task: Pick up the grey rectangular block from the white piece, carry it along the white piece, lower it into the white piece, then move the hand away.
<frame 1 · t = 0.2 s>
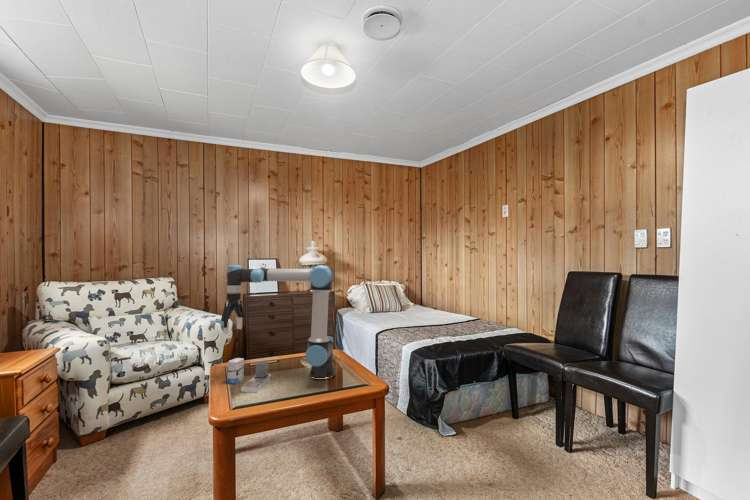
hand: (232, 331, 201), 27 cm above the table, fingers open, 13 cm apart
ink box: (235, 381, 199), on the table
grey rectangular block: (261, 380, 201), resting in white piece
white piece: (256, 384, 194), on the table
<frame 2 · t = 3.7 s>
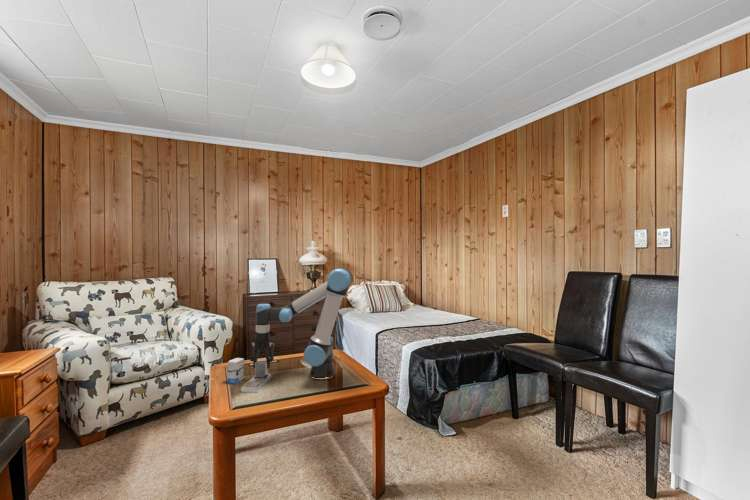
hand: (261, 374, 201), 4 cm above the table, fingers closed on grey rectangular block, 5 cm apart
grey rectangular block: (261, 380, 201), resting in white piece, touching gripper
everything else where it was.
when the fingers open (5 cm above the table, at t = 8.2 s): grey rectangular block drops 1 cm, resting in white piece.
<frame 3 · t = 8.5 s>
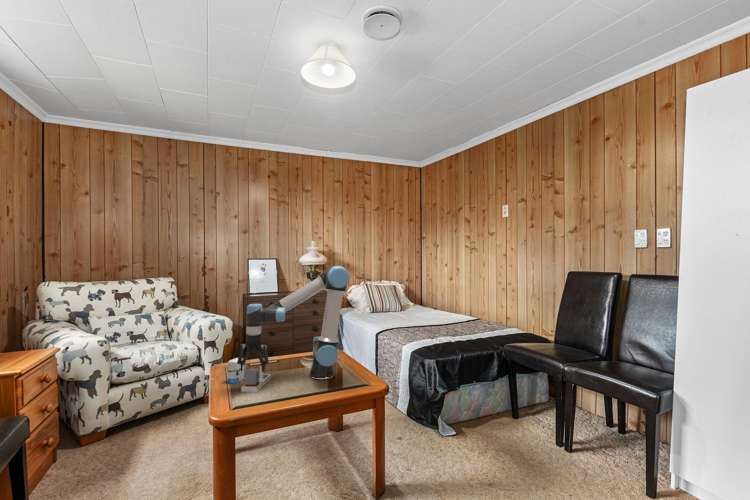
hand: (252, 377, 188), 6 cm above the table, fingers open, 8 cm apart
grey rectangular block: (252, 389, 188), resting in white piece
everything else where it was.
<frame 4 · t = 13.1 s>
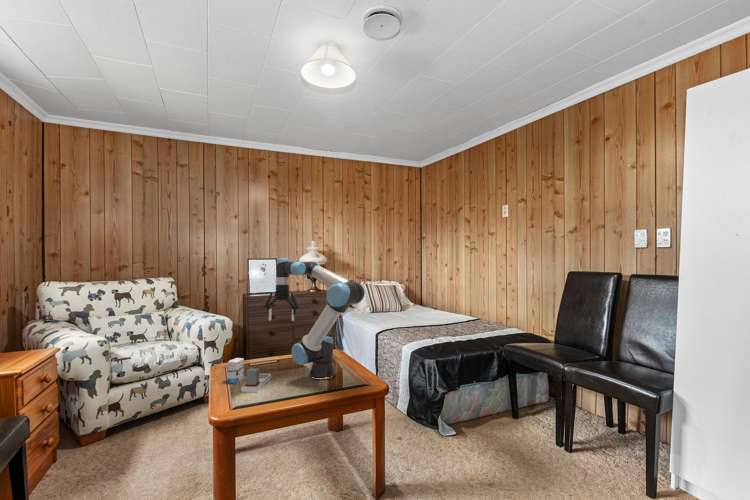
hand: (281, 320, 213), 32 cm above the table, fingers open, 13 cm apart
nothing on the table moved.
at the end: grey rectangular block 0.0 cm from the target spot, resting in white piece; grey rectangular block tilted 0°; the gripper is holding nothing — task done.
